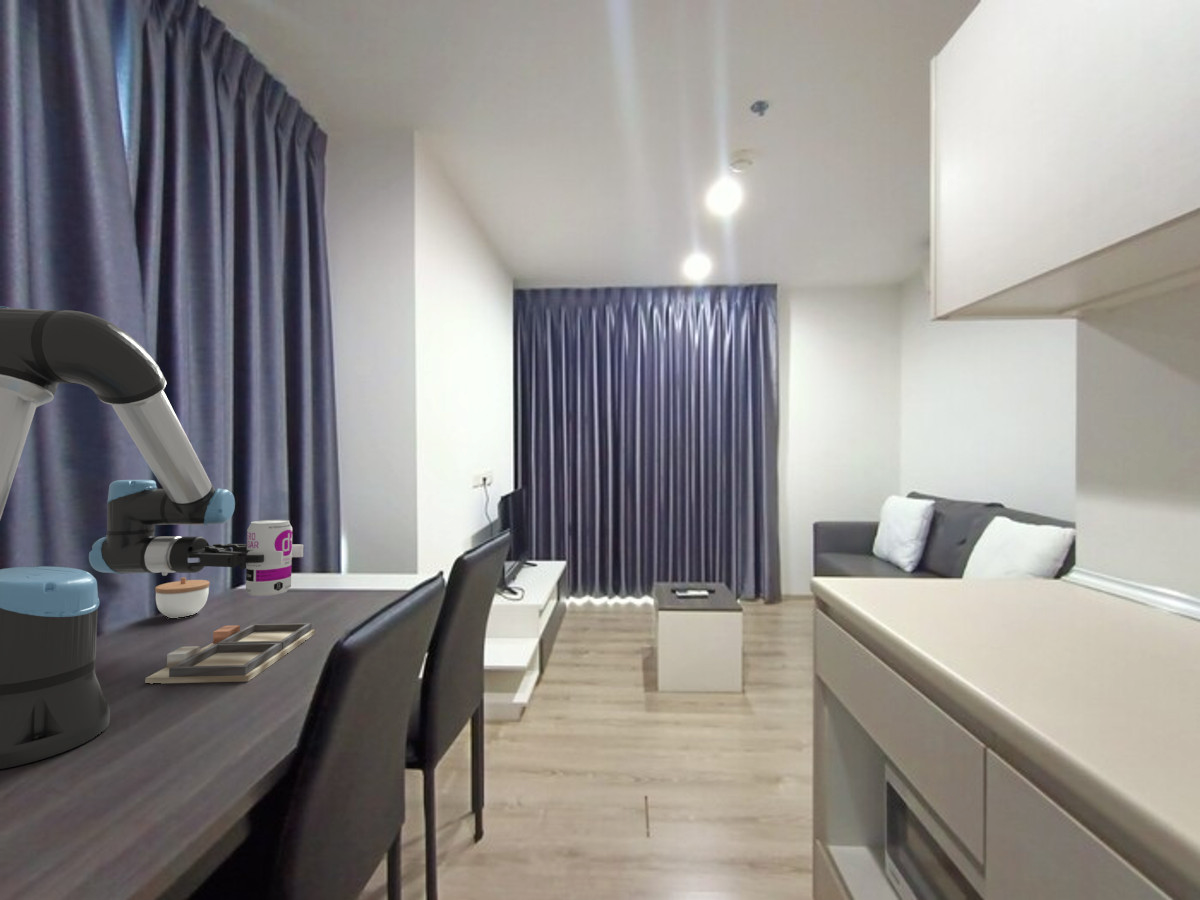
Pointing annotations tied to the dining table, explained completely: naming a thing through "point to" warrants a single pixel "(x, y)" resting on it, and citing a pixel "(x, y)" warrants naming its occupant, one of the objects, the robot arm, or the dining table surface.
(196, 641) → the dining table surface
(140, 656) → the dining table surface
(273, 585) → the supplement can
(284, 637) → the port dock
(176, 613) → the lidded jar
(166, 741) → the dining table surface
